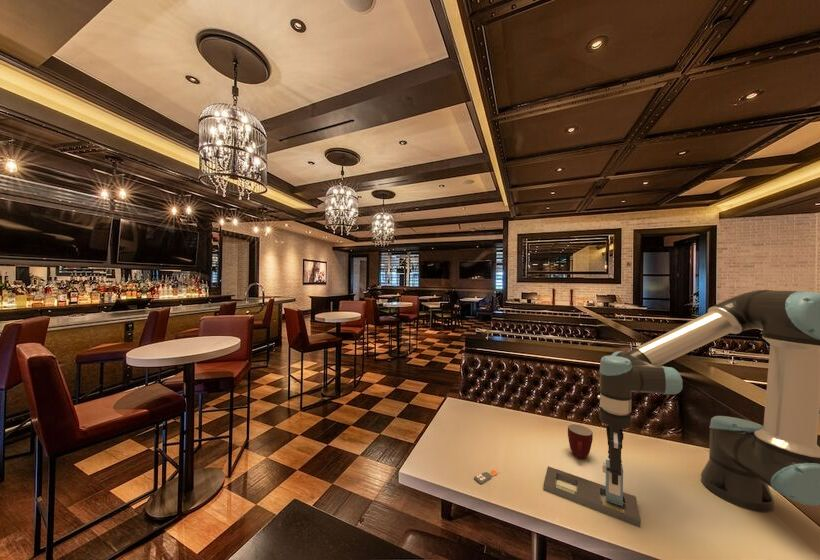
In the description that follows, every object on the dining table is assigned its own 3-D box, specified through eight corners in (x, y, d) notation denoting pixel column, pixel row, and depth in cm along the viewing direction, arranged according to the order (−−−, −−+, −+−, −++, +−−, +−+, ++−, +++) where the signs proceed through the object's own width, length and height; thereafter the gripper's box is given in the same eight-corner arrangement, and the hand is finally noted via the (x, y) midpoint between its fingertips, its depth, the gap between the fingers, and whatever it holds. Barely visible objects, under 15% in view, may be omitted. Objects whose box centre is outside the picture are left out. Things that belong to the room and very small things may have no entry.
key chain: (481, 487, 91) (481, 482, 91) (472, 480, 94) (473, 475, 94) (507, 472, 98) (507, 468, 98) (499, 466, 101) (499, 462, 101)
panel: (635, 503, 85) (636, 495, 85) (640, 527, 77) (640, 519, 76) (547, 471, 98) (547, 465, 98) (543, 489, 90) (543, 482, 90)
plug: (621, 497, 84) (622, 464, 84) (622, 506, 81) (623, 471, 81) (602, 490, 87) (602, 458, 87) (602, 499, 84) (603, 465, 84)
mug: (595, 469, 100) (596, 441, 99) (569, 463, 103) (570, 435, 103) (589, 452, 109) (590, 427, 109) (566, 447, 112) (566, 422, 112)
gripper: (599, 396, 93) (598, 467, 93) (600, 418, 79) (599, 501, 79) (627, 402, 89) (627, 476, 89) (634, 426, 74) (633, 514, 75)
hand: (614, 488), depth 84 cm, fingers closed on plug, 4 cm apart
